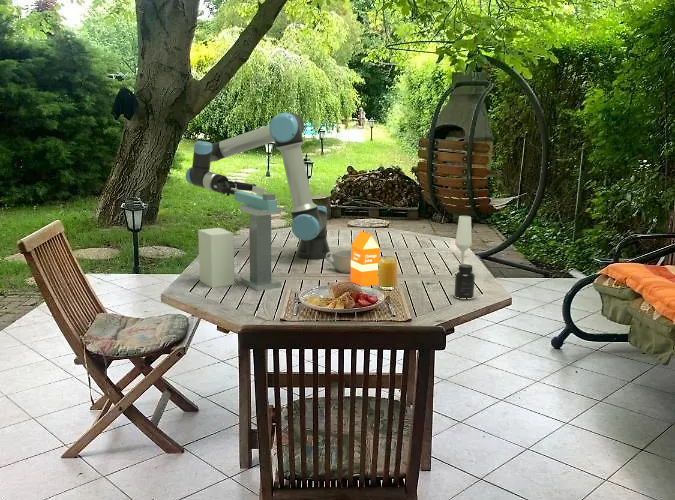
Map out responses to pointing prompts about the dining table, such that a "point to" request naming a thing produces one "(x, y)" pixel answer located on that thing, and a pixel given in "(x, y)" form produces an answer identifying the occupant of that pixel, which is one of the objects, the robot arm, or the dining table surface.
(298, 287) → the dining table surface
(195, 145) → the robot arm
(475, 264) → the dining table surface
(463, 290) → the supplement bottle
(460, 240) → the champagne flute
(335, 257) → the teacup
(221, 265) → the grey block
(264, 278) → the standard post
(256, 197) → the ledger bar
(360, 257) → the orange juice
